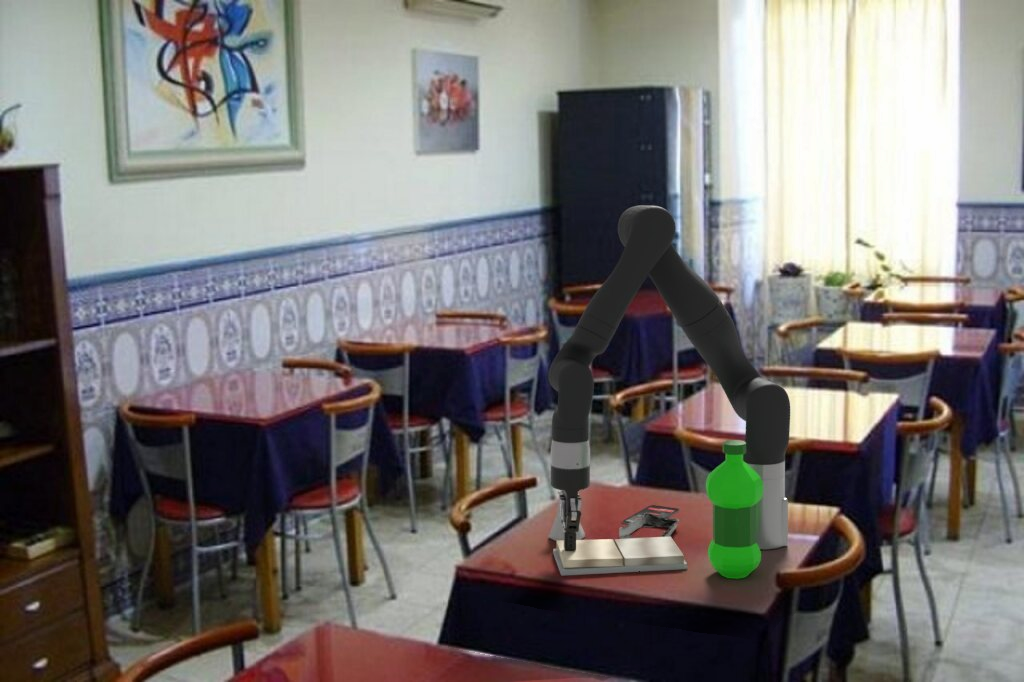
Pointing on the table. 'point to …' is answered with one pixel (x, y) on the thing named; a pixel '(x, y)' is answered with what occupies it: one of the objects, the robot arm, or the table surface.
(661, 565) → the underlay board
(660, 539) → the laid plank
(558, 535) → the flask
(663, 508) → the smartphone
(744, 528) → the plastic bottle
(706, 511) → the table surface
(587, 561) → the cream wavy square sheet
